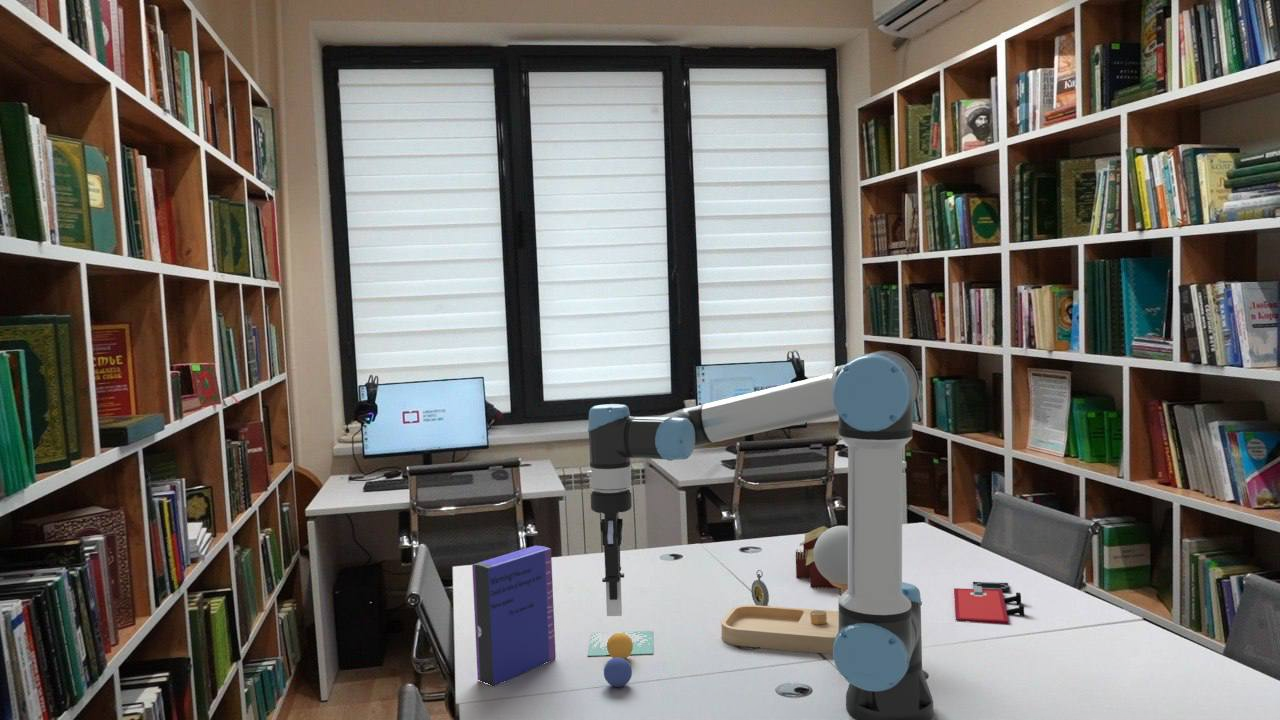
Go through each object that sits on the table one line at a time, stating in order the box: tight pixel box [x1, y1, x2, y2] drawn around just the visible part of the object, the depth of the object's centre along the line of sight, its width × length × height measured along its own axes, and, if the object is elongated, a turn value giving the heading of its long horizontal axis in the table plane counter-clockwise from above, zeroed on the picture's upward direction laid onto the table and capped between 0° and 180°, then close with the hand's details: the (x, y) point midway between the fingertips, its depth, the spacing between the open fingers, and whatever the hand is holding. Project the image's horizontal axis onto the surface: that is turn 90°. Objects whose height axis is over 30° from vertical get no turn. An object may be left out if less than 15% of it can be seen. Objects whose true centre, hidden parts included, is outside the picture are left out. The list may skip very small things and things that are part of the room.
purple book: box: [471, 545, 557, 687], centre depth 190 cm, size 17×5×24 cm, turn 141°
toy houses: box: [795, 525, 848, 597], centre depth 249 cm, size 45×21×10 cm, turn 168°
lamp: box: [720, 525, 848, 655], centre depth 203 cm, size 33×17×25 cm, turn 70°
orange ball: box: [607, 633, 633, 660], centre depth 194 cm, size 6×6×6 cm
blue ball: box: [603, 657, 633, 688], centre depth 180 cm, size 6×6×6 cm
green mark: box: [587, 630, 654, 657], centre depth 203 cm, size 14×14×1 cm
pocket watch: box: [751, 569, 770, 606], centre depth 220 cm, size 8×8×10 cm
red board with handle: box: [953, 581, 1025, 625], centre depth 222 cm, size 30×3×15 cm
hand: (614, 614), depth 171 cm, fingers closed
